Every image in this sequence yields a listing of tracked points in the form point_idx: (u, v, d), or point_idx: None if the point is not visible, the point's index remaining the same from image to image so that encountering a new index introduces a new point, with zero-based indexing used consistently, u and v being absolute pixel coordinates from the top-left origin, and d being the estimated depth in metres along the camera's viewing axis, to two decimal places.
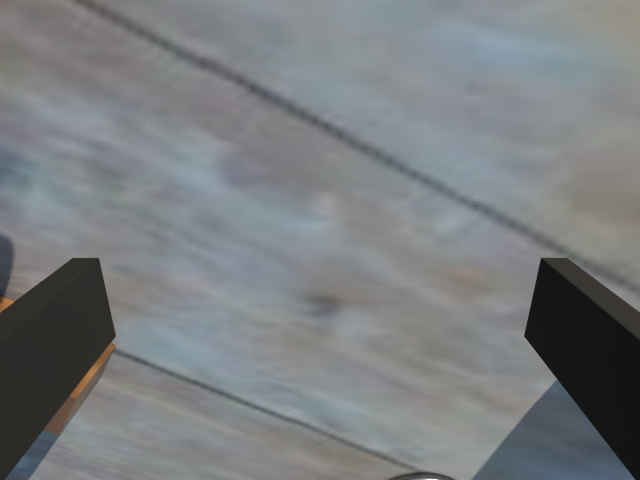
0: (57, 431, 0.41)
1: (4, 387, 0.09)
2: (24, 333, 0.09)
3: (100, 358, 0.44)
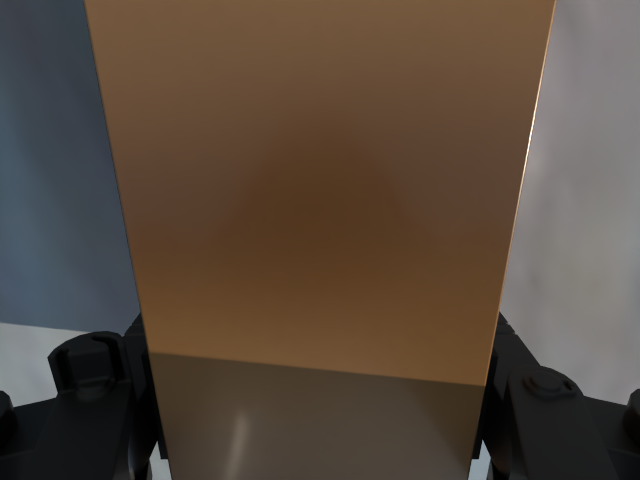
0: None
1: None
2: None
3: None
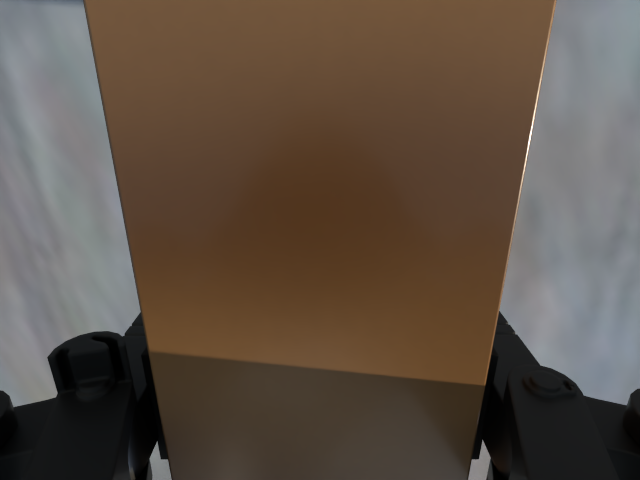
0: None
1: None
2: None
3: None
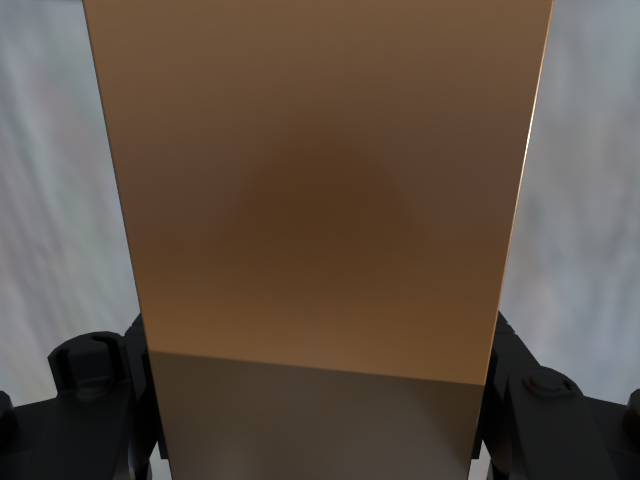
0: None
1: None
2: None
3: None
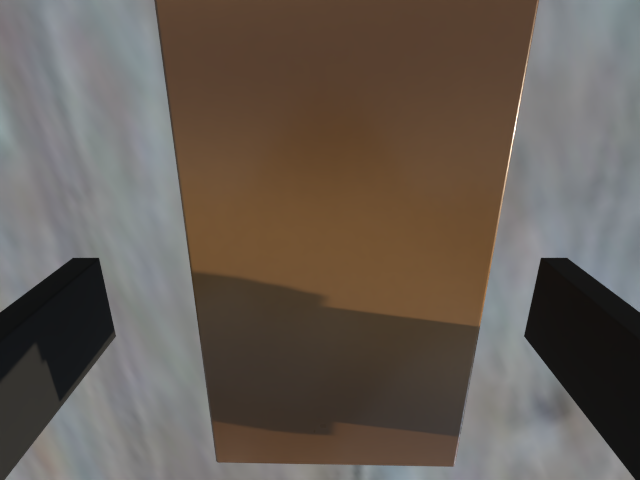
0: (234, 454, 0.09)
1: (4, 387, 0.09)
2: (24, 333, 0.09)
3: None
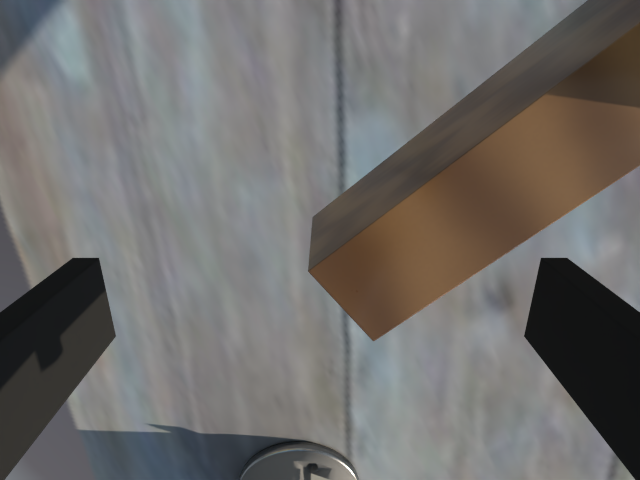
0: (318, 274, 0.20)
1: (4, 387, 0.09)
2: (24, 333, 0.09)
3: None
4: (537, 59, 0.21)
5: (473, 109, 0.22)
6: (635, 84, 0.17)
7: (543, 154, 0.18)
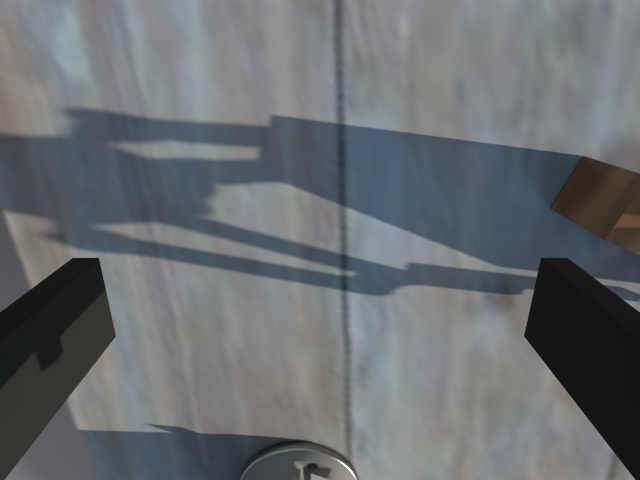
0: None
1: (4, 387, 0.09)
2: (24, 333, 0.09)
3: None
4: None
5: None
6: None
7: None
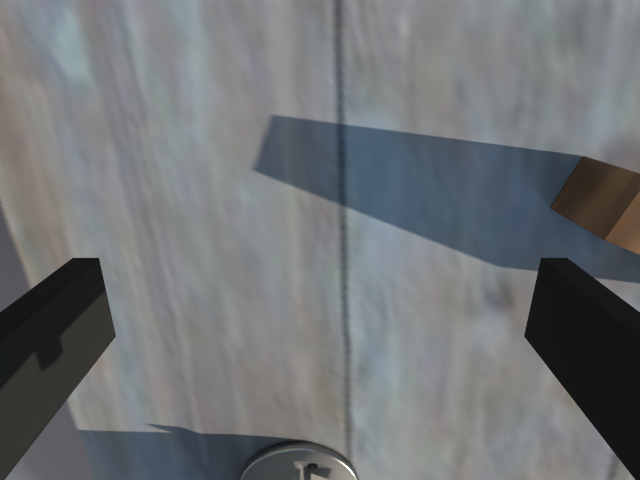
0: None
1: (4, 387, 0.09)
2: (24, 333, 0.09)
3: None
4: None
5: None
6: None
7: None
